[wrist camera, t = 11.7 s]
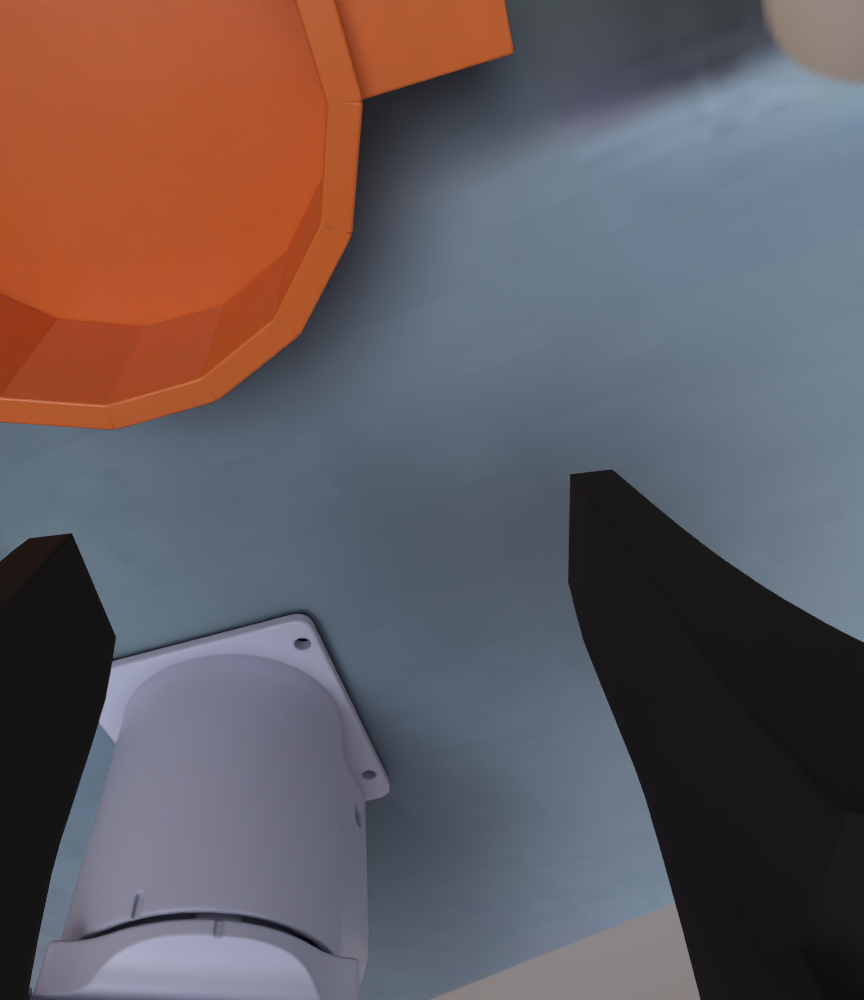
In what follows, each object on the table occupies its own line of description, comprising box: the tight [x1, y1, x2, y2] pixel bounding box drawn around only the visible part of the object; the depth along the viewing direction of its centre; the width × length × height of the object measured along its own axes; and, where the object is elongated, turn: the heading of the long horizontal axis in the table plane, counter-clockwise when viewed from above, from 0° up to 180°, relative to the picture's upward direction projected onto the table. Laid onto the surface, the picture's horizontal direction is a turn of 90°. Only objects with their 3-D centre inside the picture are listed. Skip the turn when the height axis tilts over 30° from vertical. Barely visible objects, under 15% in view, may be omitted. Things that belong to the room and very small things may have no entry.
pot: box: [0, 0, 514, 430], centre depth 15 cm, size 11×17×4 cm
